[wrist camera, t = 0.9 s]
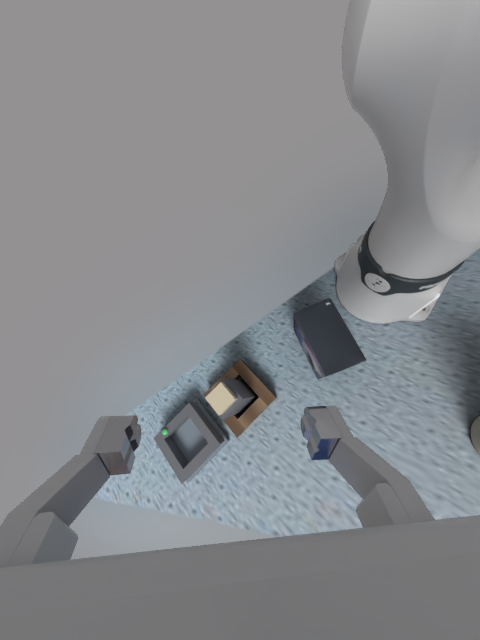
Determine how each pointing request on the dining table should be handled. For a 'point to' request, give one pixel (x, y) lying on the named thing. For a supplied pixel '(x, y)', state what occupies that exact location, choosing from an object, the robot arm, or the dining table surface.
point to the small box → (326, 339)
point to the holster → (264, 400)
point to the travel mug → (476, 434)
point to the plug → (229, 397)
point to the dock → (190, 440)
